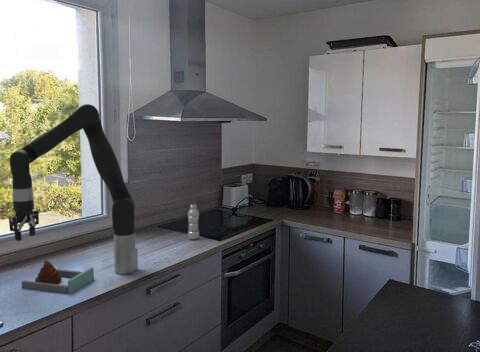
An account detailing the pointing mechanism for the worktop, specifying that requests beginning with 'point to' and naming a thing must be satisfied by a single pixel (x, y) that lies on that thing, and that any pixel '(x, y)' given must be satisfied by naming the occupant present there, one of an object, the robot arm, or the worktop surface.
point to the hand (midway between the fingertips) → (25, 238)
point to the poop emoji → (48, 274)
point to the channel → (74, 284)
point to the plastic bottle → (193, 222)
